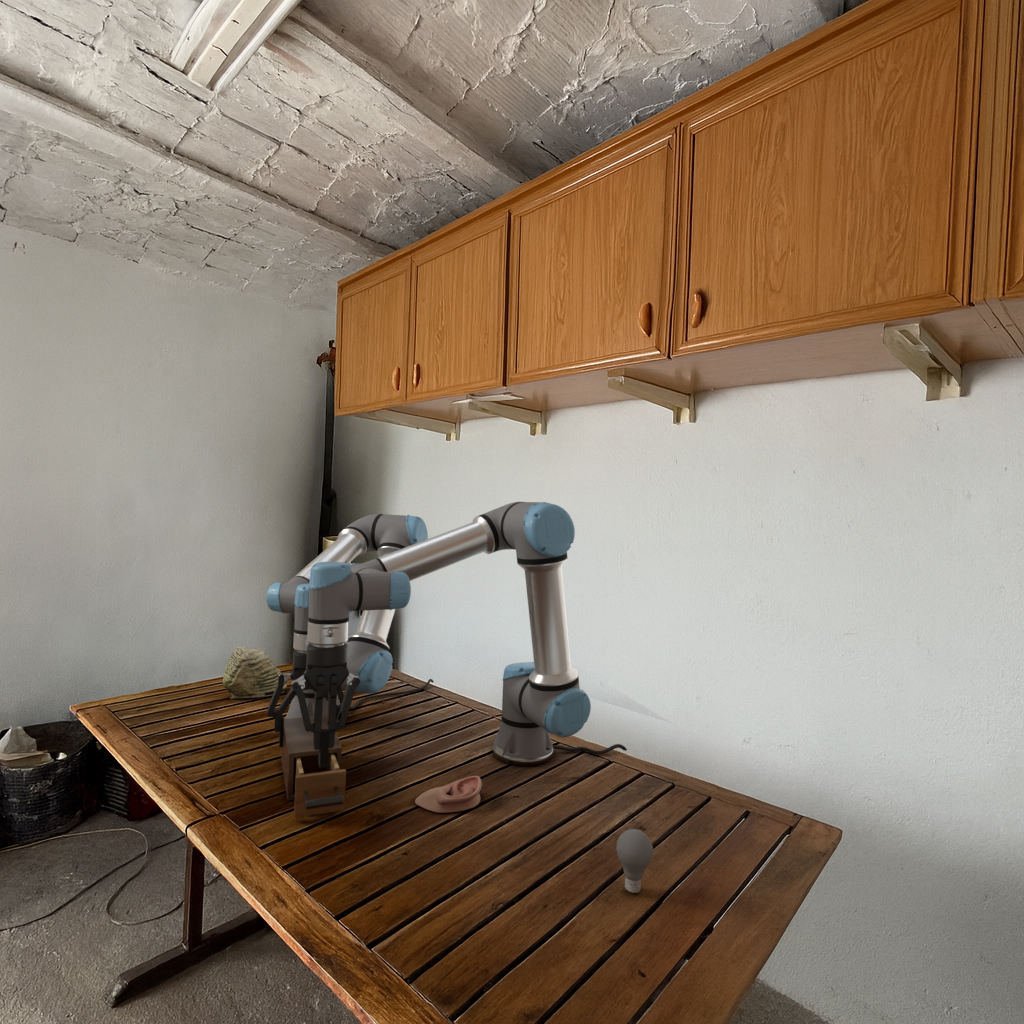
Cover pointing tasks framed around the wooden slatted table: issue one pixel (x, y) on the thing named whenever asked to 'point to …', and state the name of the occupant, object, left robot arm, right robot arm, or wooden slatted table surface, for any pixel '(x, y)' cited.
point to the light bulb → (634, 857)
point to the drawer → (318, 786)
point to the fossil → (250, 674)
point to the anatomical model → (452, 796)
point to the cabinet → (301, 748)
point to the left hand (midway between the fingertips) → (306, 742)
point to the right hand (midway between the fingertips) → (323, 764)
